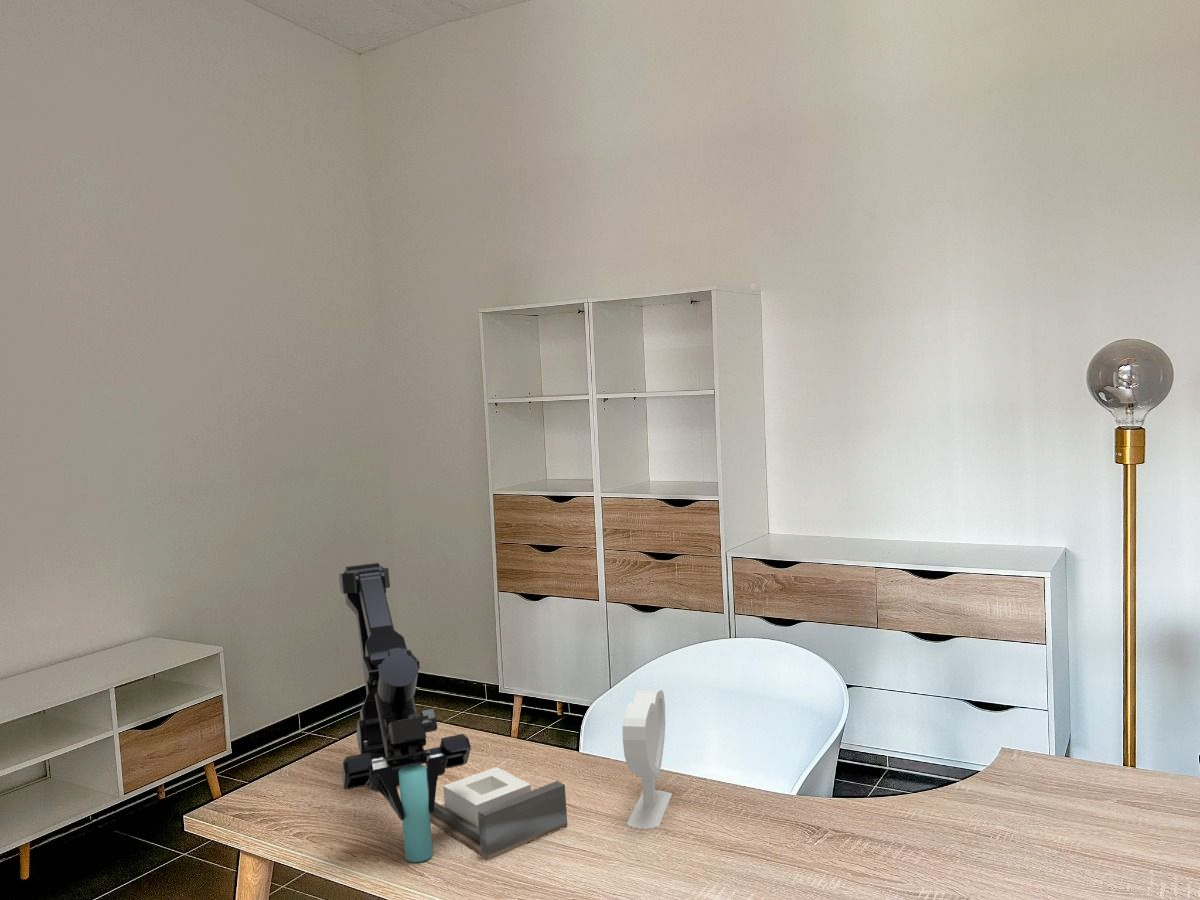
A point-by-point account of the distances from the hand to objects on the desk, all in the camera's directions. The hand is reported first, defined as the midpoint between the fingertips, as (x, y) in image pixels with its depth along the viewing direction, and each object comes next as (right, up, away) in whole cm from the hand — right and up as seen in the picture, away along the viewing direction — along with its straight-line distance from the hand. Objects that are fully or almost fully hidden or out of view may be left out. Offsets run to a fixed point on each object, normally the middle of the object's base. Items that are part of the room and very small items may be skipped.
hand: (417, 815), depth 140 cm
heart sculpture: (+34, -4, +13) cm, 37 cm away
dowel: (0, -7, +2) cm, 7 cm away
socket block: (+9, -5, +13) cm, 16 cm away
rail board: (+10, -5, +12) cm, 16 cm away
